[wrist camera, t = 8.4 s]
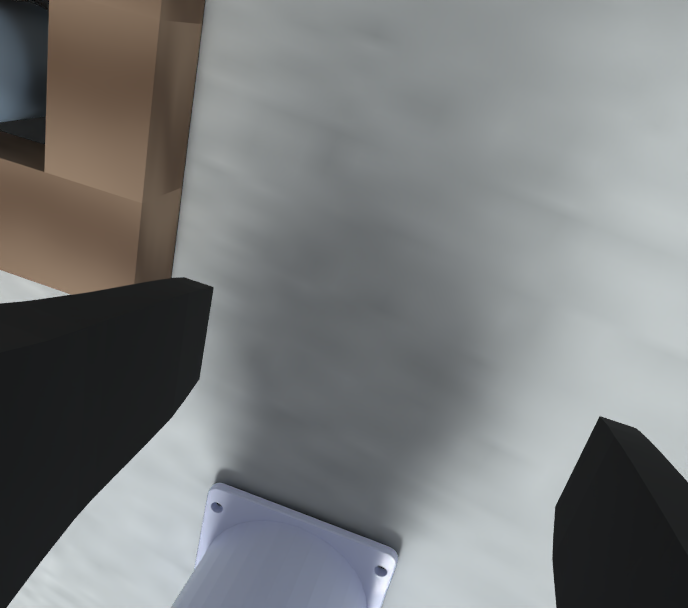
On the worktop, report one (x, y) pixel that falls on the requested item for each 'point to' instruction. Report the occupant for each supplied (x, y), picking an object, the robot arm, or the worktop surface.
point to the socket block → (104, 147)
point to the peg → (23, 60)
